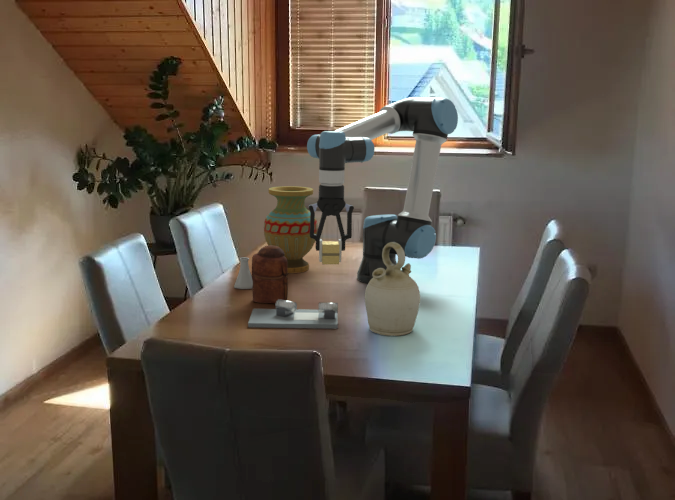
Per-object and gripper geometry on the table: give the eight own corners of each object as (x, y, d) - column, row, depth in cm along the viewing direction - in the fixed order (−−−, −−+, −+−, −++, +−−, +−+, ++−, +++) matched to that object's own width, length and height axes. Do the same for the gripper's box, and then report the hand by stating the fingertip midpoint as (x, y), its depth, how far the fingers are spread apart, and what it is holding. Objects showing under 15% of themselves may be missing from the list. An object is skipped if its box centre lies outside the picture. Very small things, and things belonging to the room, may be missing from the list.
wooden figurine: (290, 299, 230) (290, 244, 226) (286, 305, 224) (287, 248, 220) (253, 297, 231) (253, 242, 227) (249, 303, 225) (248, 246, 221)
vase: (308, 261, 283) (309, 185, 277) (323, 273, 264) (325, 191, 258) (258, 264, 277) (258, 186, 270) (270, 276, 258) (270, 193, 252)
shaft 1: (298, 314, 211) (298, 300, 210) (290, 318, 207) (290, 304, 206) (282, 311, 213) (282, 297, 212) (274, 315, 210) (274, 301, 209)
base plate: (337, 313, 216) (337, 309, 216) (337, 328, 202) (337, 324, 202) (253, 312, 216) (253, 308, 215) (248, 327, 202) (248, 322, 202)
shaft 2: (318, 318, 207) (318, 304, 206) (318, 314, 211) (318, 300, 210) (337, 319, 207) (337, 305, 206) (337, 314, 211) (337, 300, 210)
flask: (251, 290, 240) (251, 261, 238) (230, 289, 241) (230, 259, 239) (258, 285, 247) (258, 256, 245) (237, 283, 248) (237, 255, 246)
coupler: (337, 260, 221) (338, 241, 220) (339, 264, 216) (339, 244, 215) (321, 260, 220) (321, 241, 219) (322, 264, 215) (322, 244, 214)
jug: (379, 341, 193) (382, 249, 187) (354, 324, 206) (356, 238, 201) (429, 334, 199) (433, 245, 193) (402, 318, 212) (405, 235, 207)
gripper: (360, 183, 218) (358, 258, 223) (300, 182, 216) (299, 258, 221) (363, 186, 210) (361, 264, 215) (301, 185, 209) (300, 263, 214)
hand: (330, 261), depth 218 cm, fingers closed on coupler, 5 cm apart
